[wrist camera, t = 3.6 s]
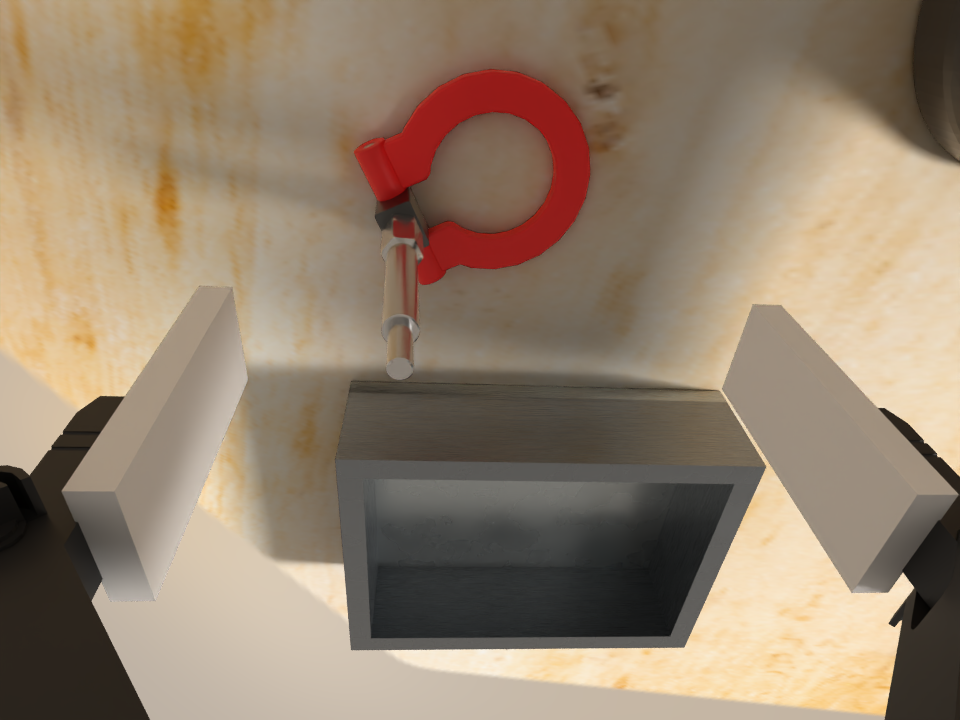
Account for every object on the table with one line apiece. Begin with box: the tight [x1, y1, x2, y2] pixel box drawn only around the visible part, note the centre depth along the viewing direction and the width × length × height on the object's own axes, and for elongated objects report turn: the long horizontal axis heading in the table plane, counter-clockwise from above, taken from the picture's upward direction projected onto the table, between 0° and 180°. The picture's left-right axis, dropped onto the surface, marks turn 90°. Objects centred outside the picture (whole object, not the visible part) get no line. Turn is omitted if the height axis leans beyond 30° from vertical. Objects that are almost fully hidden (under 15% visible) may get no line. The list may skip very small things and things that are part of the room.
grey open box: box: [335, 381, 766, 650], centre depth 36 cm, size 20×15×6 cm
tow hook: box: [354, 69, 590, 380], centre depth 22 cm, size 8×13×9 cm
